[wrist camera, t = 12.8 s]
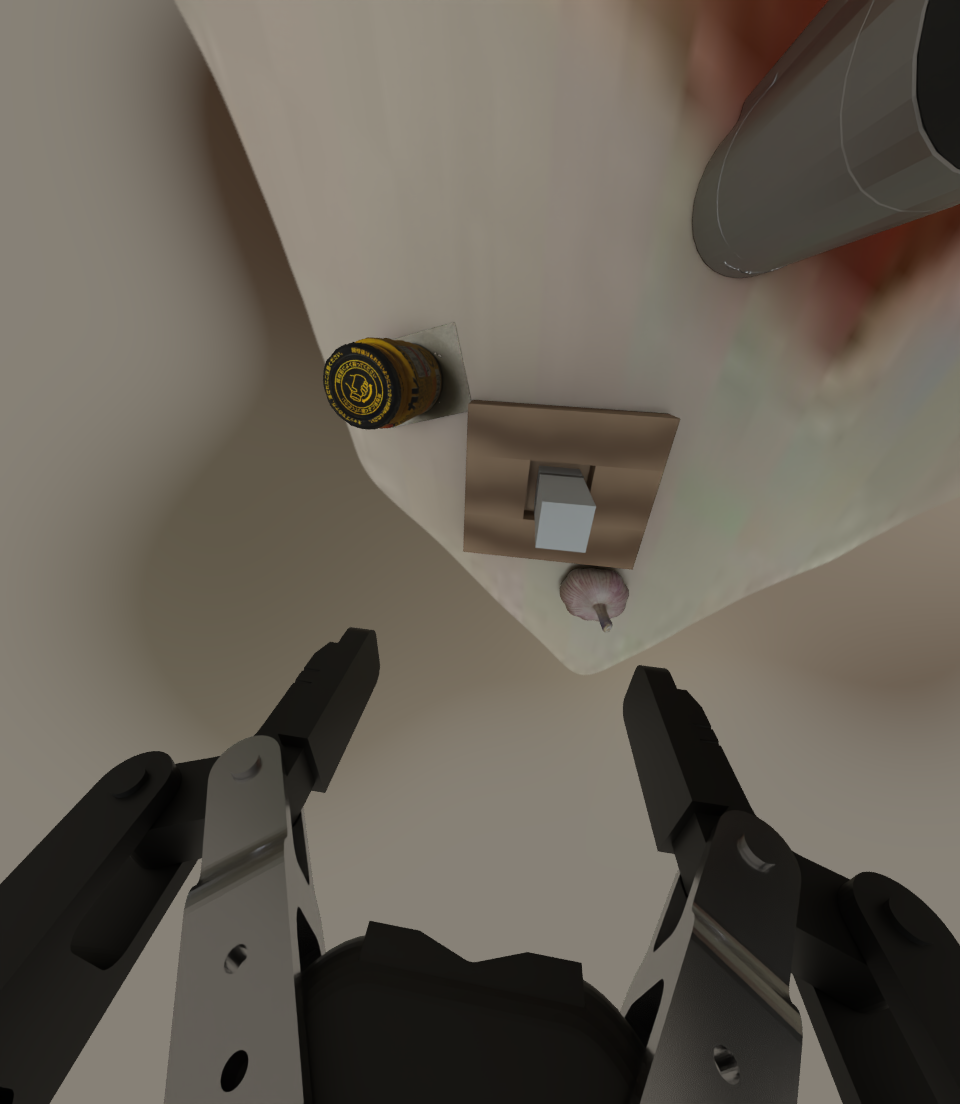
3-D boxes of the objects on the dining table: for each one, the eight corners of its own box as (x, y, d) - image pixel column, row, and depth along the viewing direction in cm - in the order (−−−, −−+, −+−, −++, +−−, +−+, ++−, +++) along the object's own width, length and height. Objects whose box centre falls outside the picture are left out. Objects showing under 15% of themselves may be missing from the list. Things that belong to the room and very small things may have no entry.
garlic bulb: (637, 585, 41) (659, 631, 34) (588, 618, 44) (599, 667, 37) (595, 545, 39) (609, 585, 32) (546, 582, 42) (550, 626, 36)
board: (472, 399, 33) (468, 403, 31) (668, 413, 32) (680, 418, 29) (467, 539, 41) (463, 551, 38) (625, 555, 39) (632, 569, 37)
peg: (538, 465, 35) (541, 500, 26) (580, 468, 35) (596, 505, 26) (533, 503, 37) (534, 548, 28) (572, 506, 37) (585, 553, 28)
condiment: (367, 346, 32) (290, 342, 22) (454, 322, 31) (416, 304, 20) (393, 427, 36) (337, 456, 25) (473, 409, 34) (448, 433, 23)
